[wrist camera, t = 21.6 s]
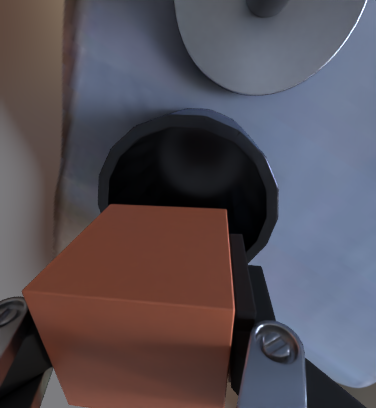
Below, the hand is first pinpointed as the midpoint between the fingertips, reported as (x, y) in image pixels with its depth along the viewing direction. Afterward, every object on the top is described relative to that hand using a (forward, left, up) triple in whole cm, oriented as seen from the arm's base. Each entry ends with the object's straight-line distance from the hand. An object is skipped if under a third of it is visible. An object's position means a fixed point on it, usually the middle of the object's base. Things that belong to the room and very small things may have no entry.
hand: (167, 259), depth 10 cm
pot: (0, 0, -13) cm, 13 cm away
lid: (-13, -5, -12) cm, 18 cm away
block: (0, 0, 0) cm, 0 cm away
